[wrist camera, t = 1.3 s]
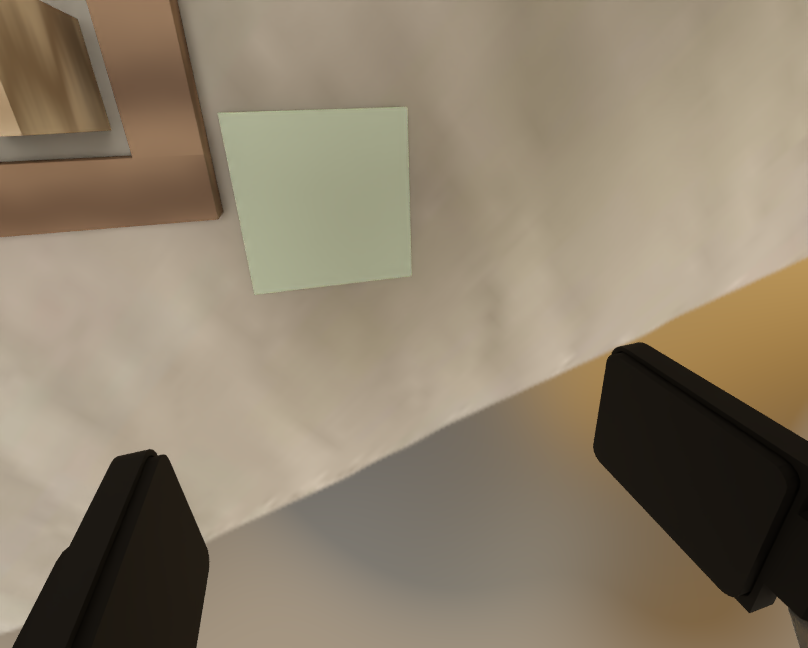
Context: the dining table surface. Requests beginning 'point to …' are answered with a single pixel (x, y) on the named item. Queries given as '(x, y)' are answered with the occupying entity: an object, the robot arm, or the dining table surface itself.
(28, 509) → the dining table surface
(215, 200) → the cradle board
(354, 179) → the pad
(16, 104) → the beech block
